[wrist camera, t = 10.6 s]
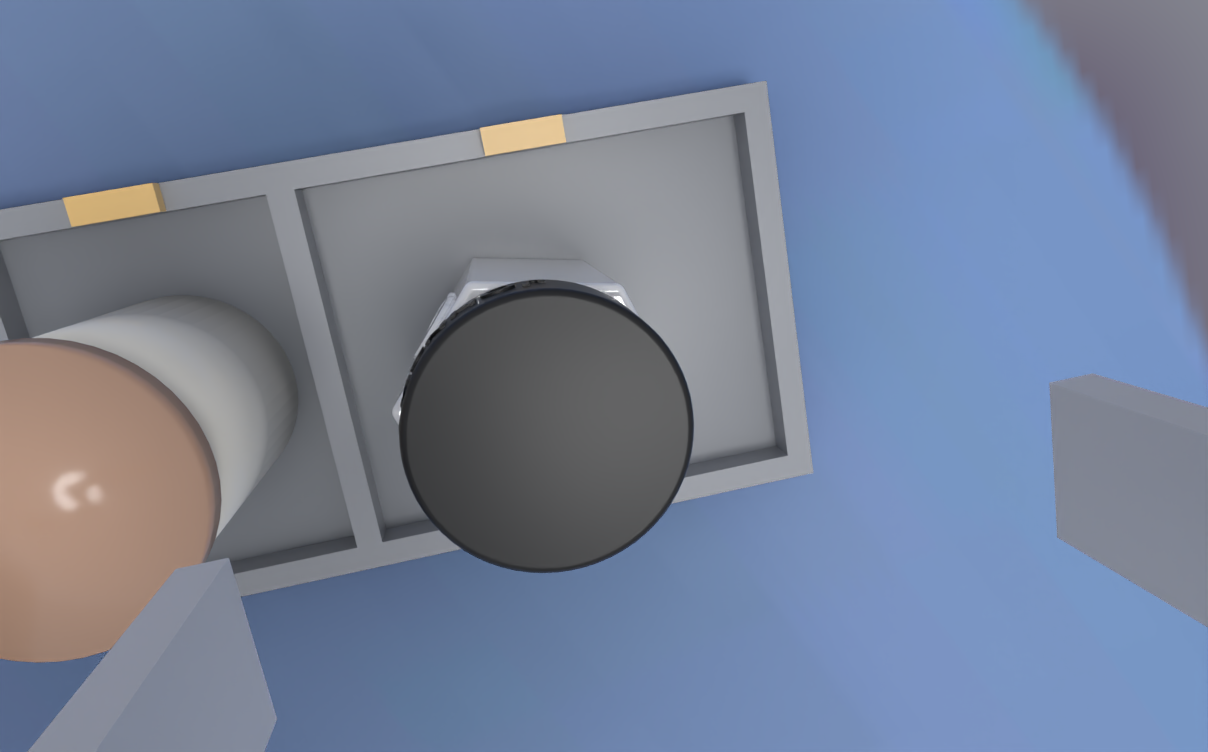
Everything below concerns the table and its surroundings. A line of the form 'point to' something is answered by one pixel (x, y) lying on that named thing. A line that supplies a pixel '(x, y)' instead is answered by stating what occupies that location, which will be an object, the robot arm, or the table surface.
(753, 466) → the divided grey tray
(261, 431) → the white jar with lid
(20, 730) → the table surface
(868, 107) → the table surface
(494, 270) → the jar
